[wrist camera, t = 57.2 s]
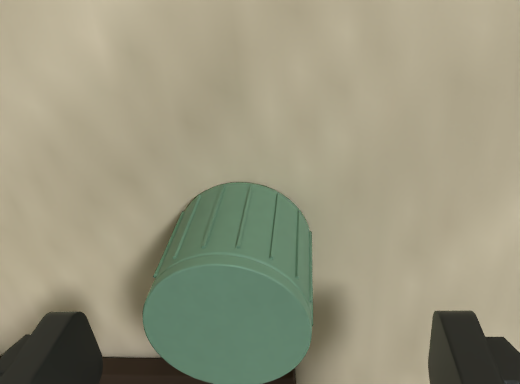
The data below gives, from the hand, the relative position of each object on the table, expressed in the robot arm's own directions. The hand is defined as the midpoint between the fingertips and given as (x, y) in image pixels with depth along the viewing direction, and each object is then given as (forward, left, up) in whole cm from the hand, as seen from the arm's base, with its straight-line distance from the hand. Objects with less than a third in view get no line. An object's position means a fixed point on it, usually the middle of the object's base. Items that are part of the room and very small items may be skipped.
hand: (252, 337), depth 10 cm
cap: (+1, 0, -3) cm, 3 cm away
